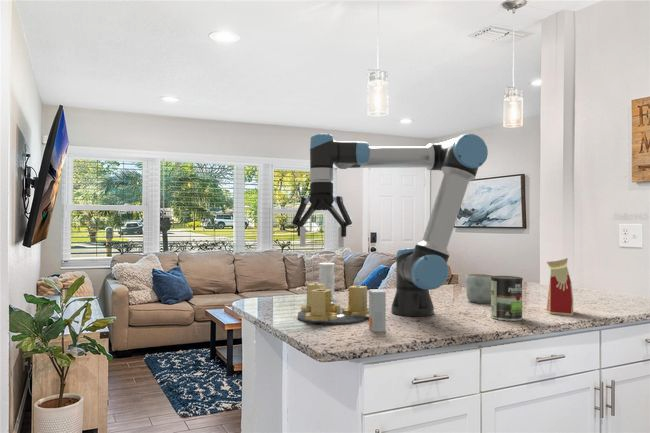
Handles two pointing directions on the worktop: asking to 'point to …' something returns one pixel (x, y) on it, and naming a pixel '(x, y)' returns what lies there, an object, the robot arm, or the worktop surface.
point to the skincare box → (377, 310)
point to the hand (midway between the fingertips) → (321, 246)
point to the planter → (479, 287)
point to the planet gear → (321, 306)
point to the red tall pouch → (560, 289)
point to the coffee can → (506, 298)
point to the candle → (327, 276)
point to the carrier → (344, 315)
